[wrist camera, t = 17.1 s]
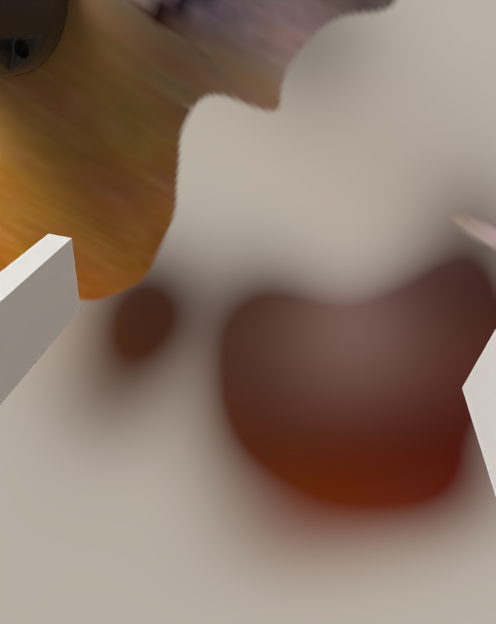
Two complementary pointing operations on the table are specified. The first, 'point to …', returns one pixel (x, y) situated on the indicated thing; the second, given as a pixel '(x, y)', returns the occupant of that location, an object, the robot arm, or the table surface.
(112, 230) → the table surface
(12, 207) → the table surface
